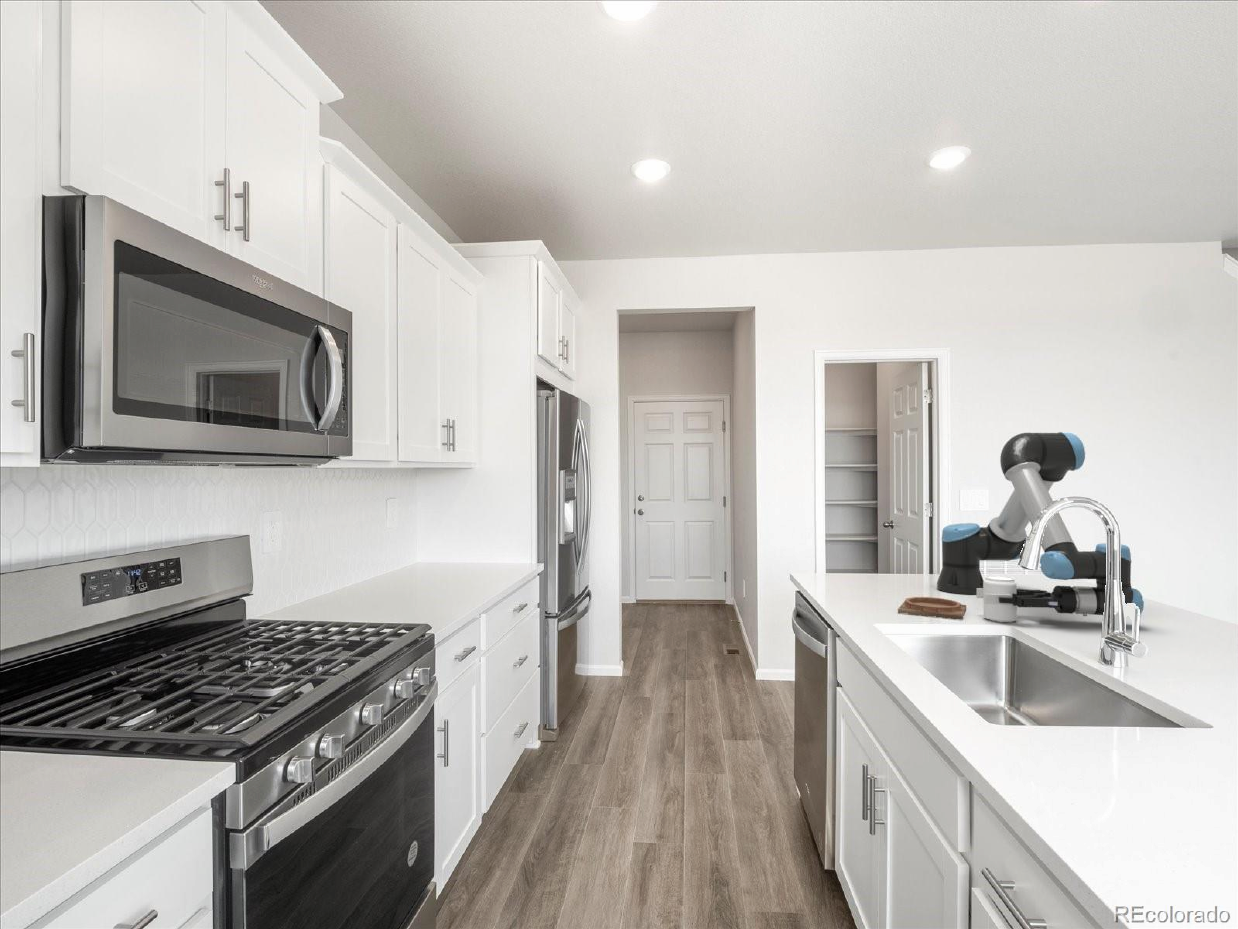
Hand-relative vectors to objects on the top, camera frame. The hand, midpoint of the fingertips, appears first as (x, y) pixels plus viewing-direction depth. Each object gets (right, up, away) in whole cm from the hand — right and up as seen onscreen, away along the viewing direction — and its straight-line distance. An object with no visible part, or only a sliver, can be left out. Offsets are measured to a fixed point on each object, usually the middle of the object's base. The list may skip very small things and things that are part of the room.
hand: (980, 595), depth 183 cm
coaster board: (-9, -7, +10) cm, 15 cm away
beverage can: (+5, -7, -1) cm, 8 cm away
